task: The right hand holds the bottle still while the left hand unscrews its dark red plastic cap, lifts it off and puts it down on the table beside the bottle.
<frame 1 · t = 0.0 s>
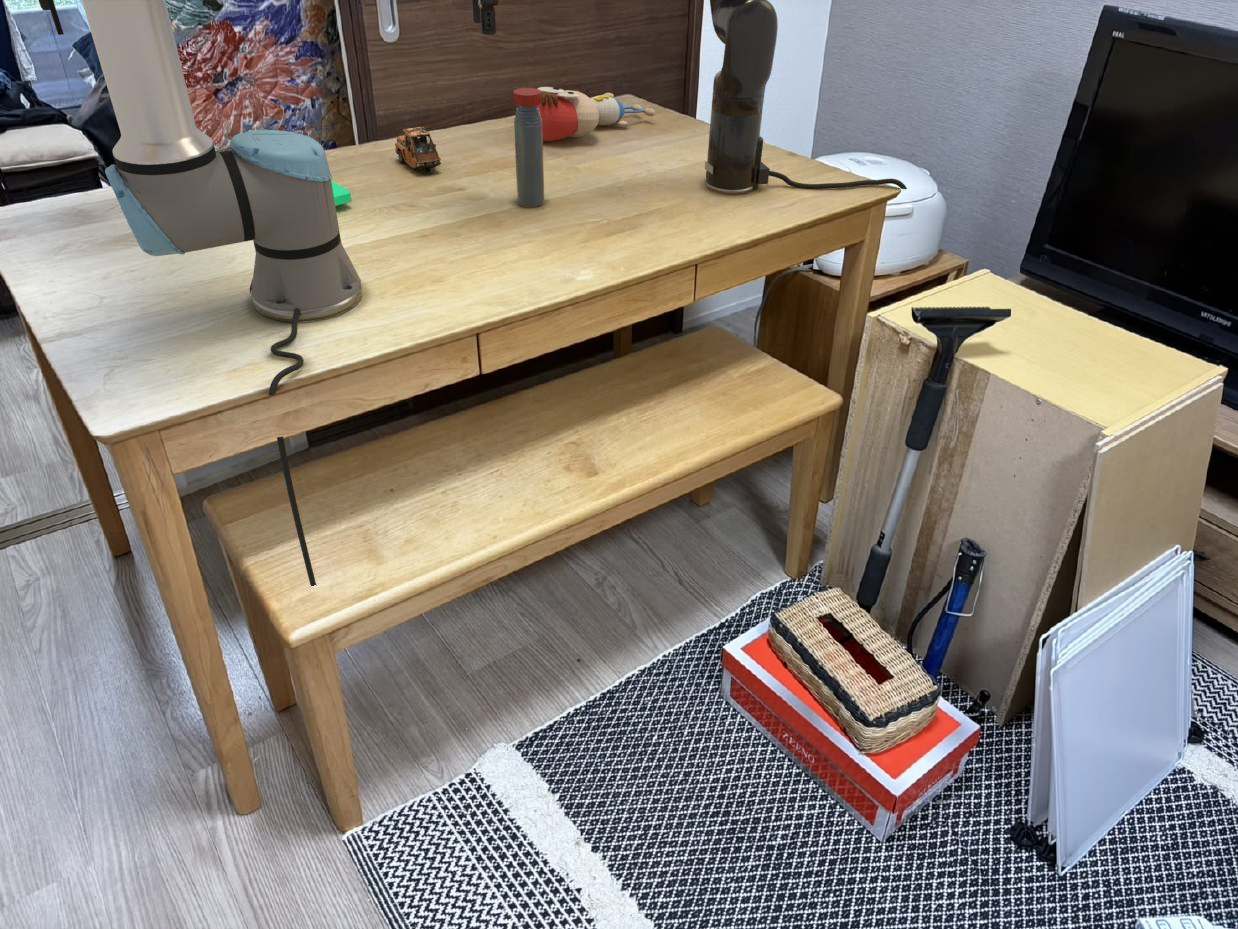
left hand: (108, 29, 146), 28 cm above the table, tool pointing down, fingers open, 13 cm apart
right hand: (484, 28, 148), 29 cm above the table, tool pointing down, fingers open, 8 cm apart
toy: (590, 130, 201), on the table
camera mount: (318, 203, 164), on the table
toy car: (419, 166, 180), on the table
cap: (527, 93, 155), point 19 cm above the table, screwed on, not yet turned
bottle: (530, 202, 167), on the table
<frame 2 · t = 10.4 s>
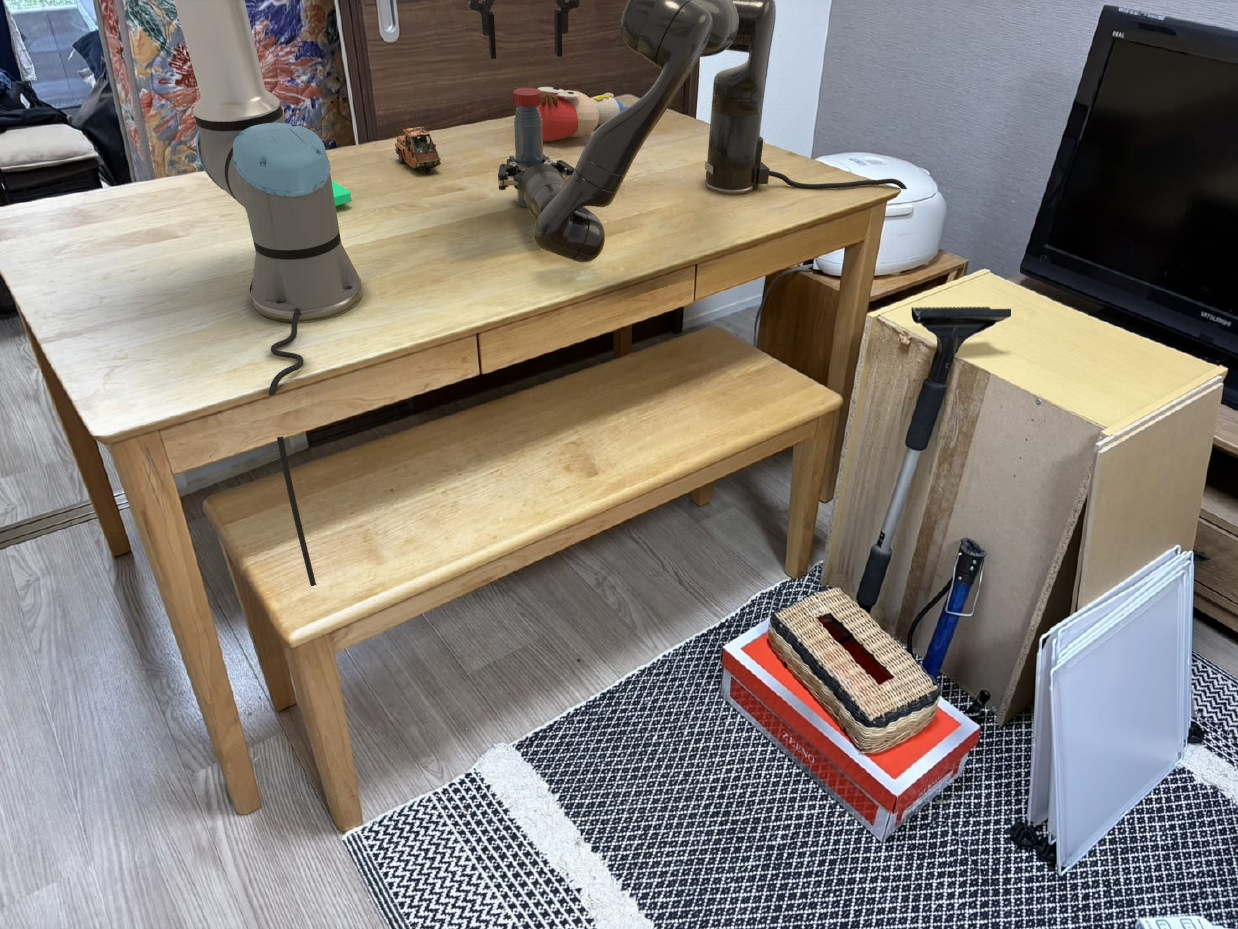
left hand: (525, 55, 152), 25 cm above the table, tool pointing down, fingers open, 10 cm apart
right hand: (526, 160, 165), 7 cm above the table, tool horizontal, fingers closed on bottle, 5 cm apart
bottle: (530, 202, 167), on the table, touching right hand
everything else where it was.
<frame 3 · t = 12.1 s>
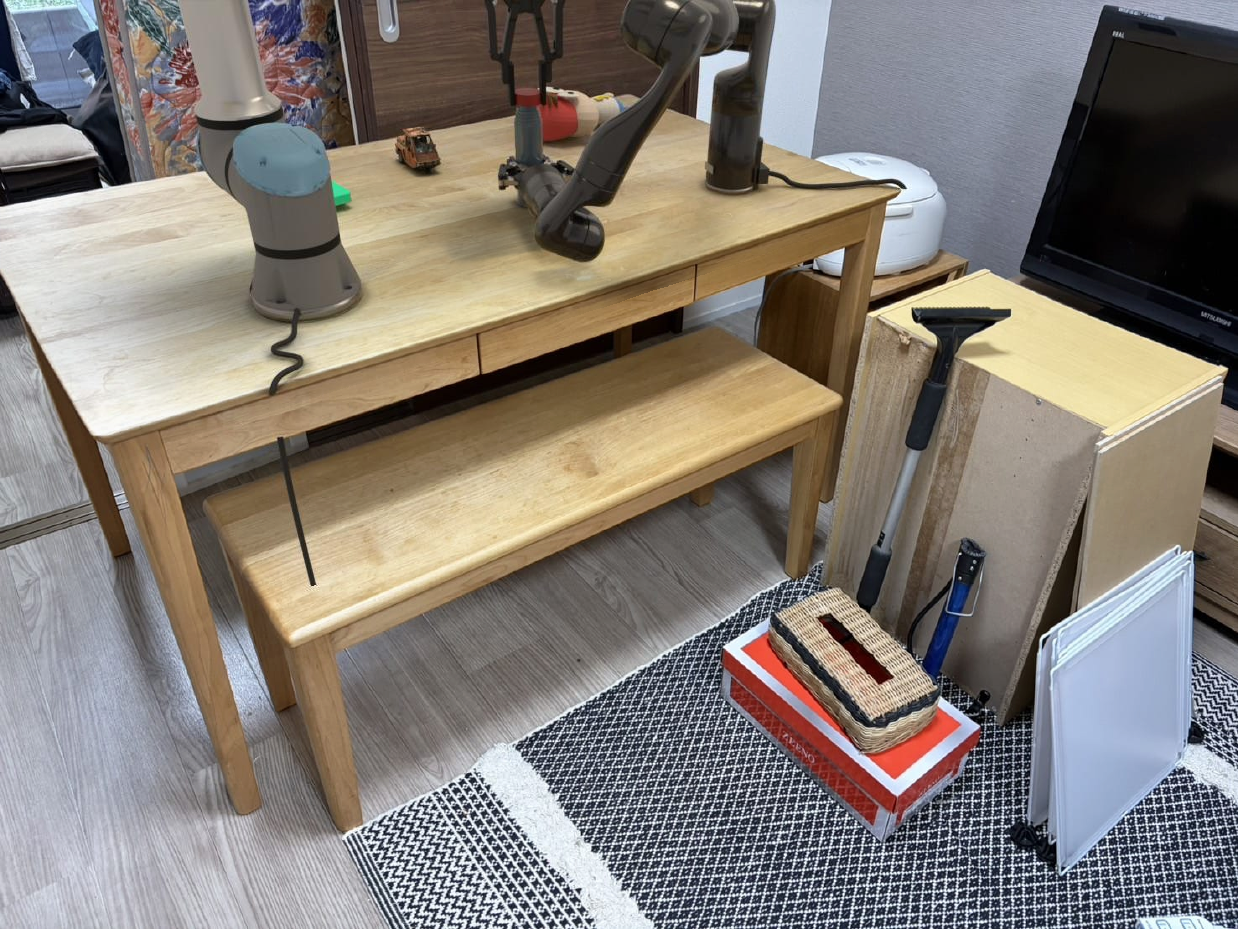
left hand: (527, 102, 156), 17 cm above the table, tool pointing down, fingers closed on cap, 5 cm apart
right hand: (526, 160, 165), 7 cm above the table, tool horizontal, fingers closed on bottle, 5 cm apart
cap: (527, 93, 155), point 19 cm above the table, screwed on, not yet turned, touching left hand
bottle: (530, 202, 167), on the table, touching right hand
everything else where it was.
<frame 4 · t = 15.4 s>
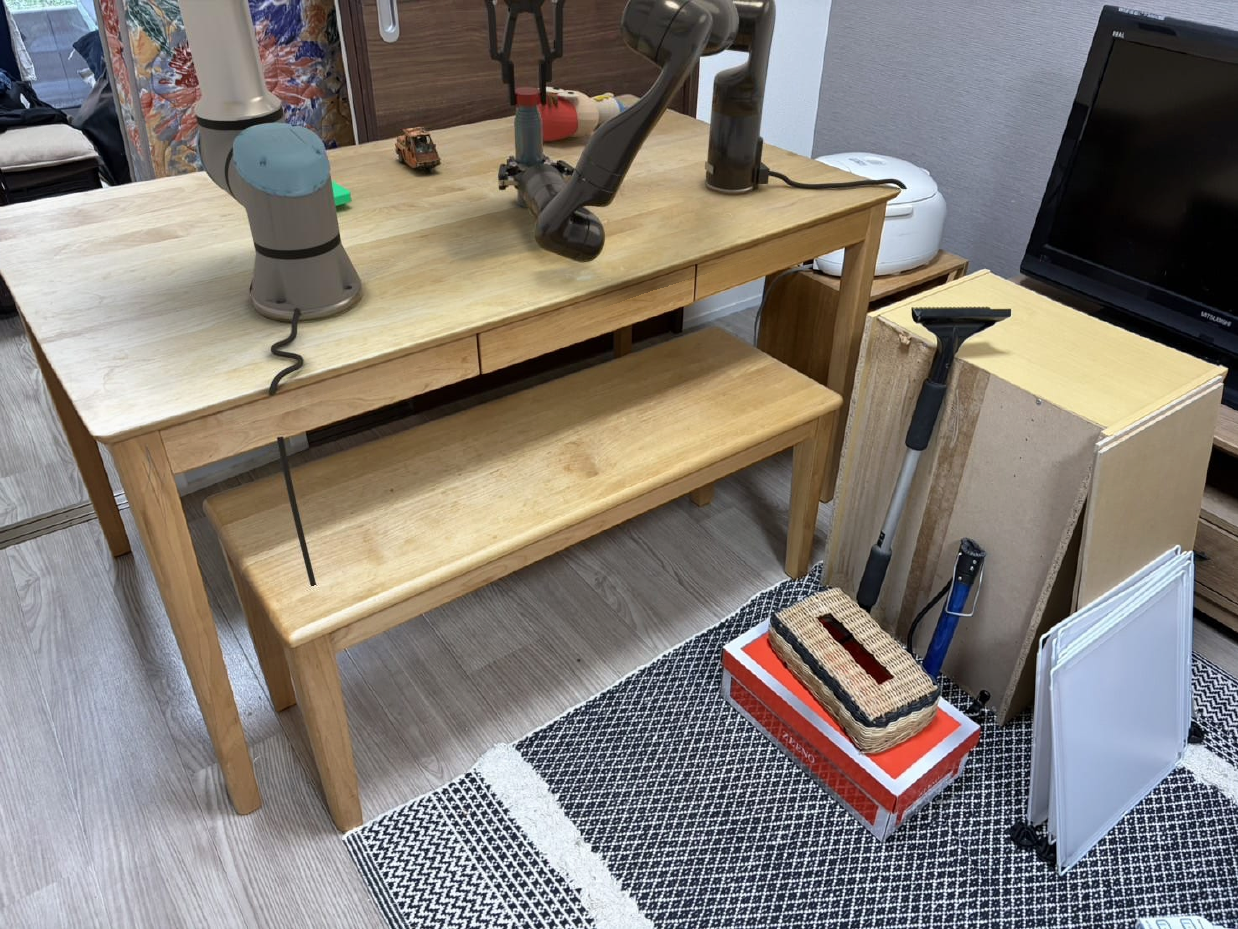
left hand: (527, 102, 156), 17 cm above the table, tool pointing down, fingers closed on cap, 4 cm apart
right hand: (526, 160, 165), 7 cm above the table, tool horizontal, fingers closed on bottle, 5 cm apart
cap: (527, 92, 155), point 19 cm above the table, turned 103° so far, risen 0.1 cm, still on its thread, touching left hand
bottle: (530, 202, 167), on the table, touching right hand
everything else where it was.
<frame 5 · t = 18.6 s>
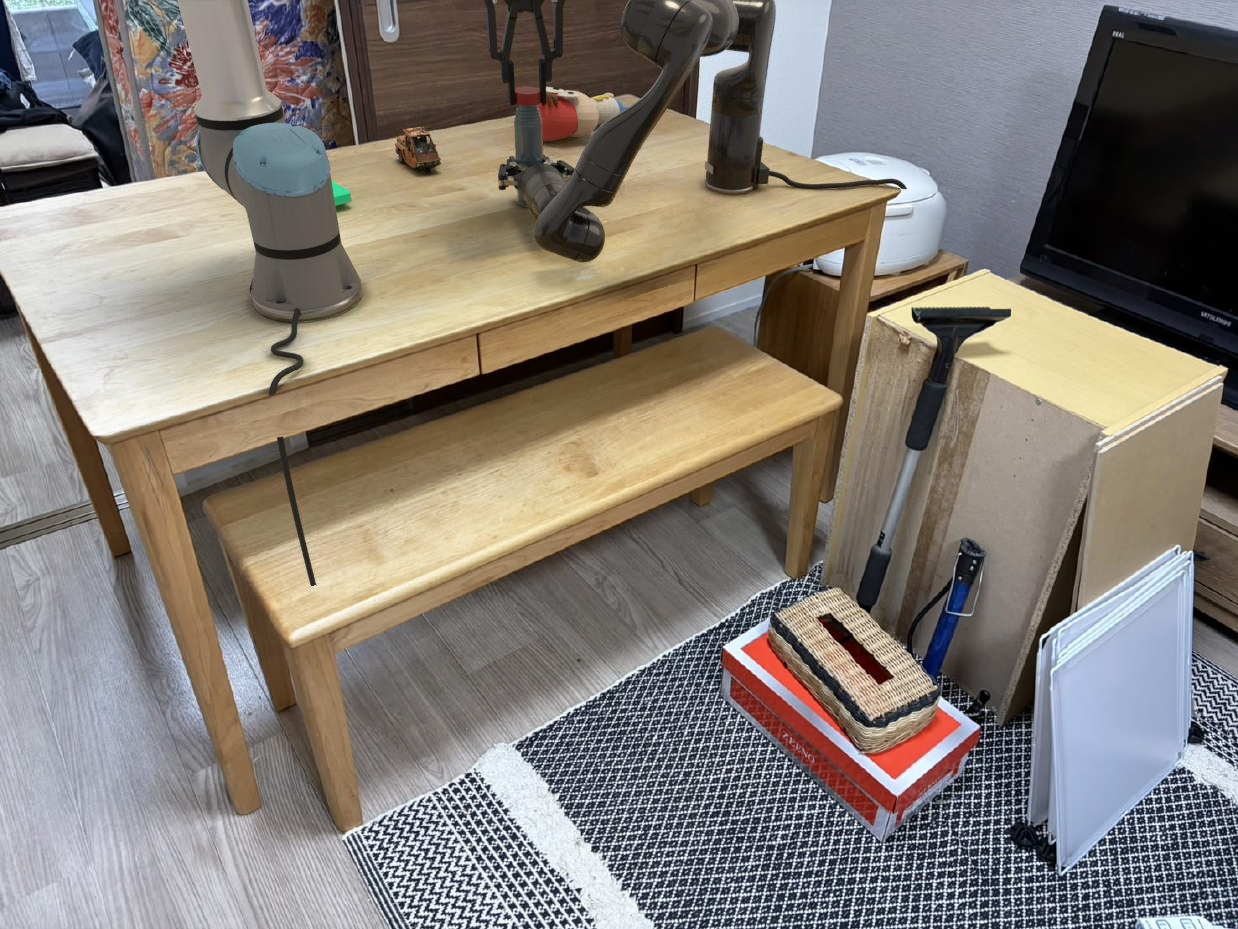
left hand: (527, 101, 156), 18 cm above the table, tool pointing down, fingers closed on cap, 5 cm apart
right hand: (526, 160, 165), 7 cm above the table, tool horizontal, fingers closed on bottle, 5 cm apart
cap: (527, 92, 155), point 19 cm above the table, turned 206° so far, risen 0.2 cm, still on its thread, touching left hand
bottle: (530, 202, 167), on the table, touching right hand
everything else where it was.
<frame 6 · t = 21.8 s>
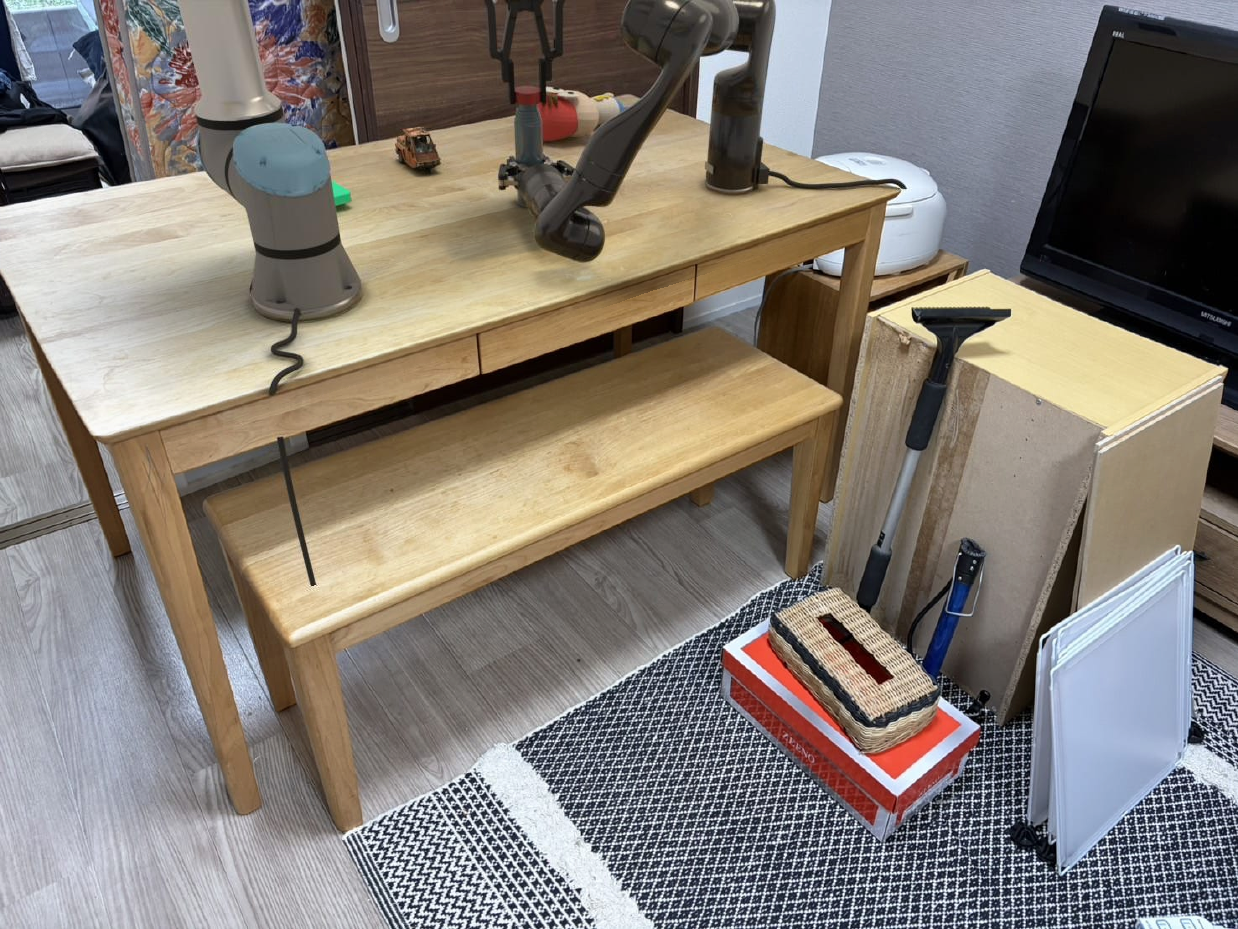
left hand: (527, 101, 156), 18 cm above the table, tool pointing down, fingers closed on cap, 5 cm apart
right hand: (526, 160, 165), 7 cm above the table, tool horizontal, fingers closed on bottle, 5 cm apart
cap: (527, 91, 155), point 19 cm above the table, turned 309° so far, risen 0.3 cm, still on its thread, touching left hand
bottle: (530, 202, 167), on the table, touching right hand
everything else where it was.
when the left hand's fingers open (1 cm above the table, at t = 28.2 s): cap drops 1 cm, point 2 cm above the table.
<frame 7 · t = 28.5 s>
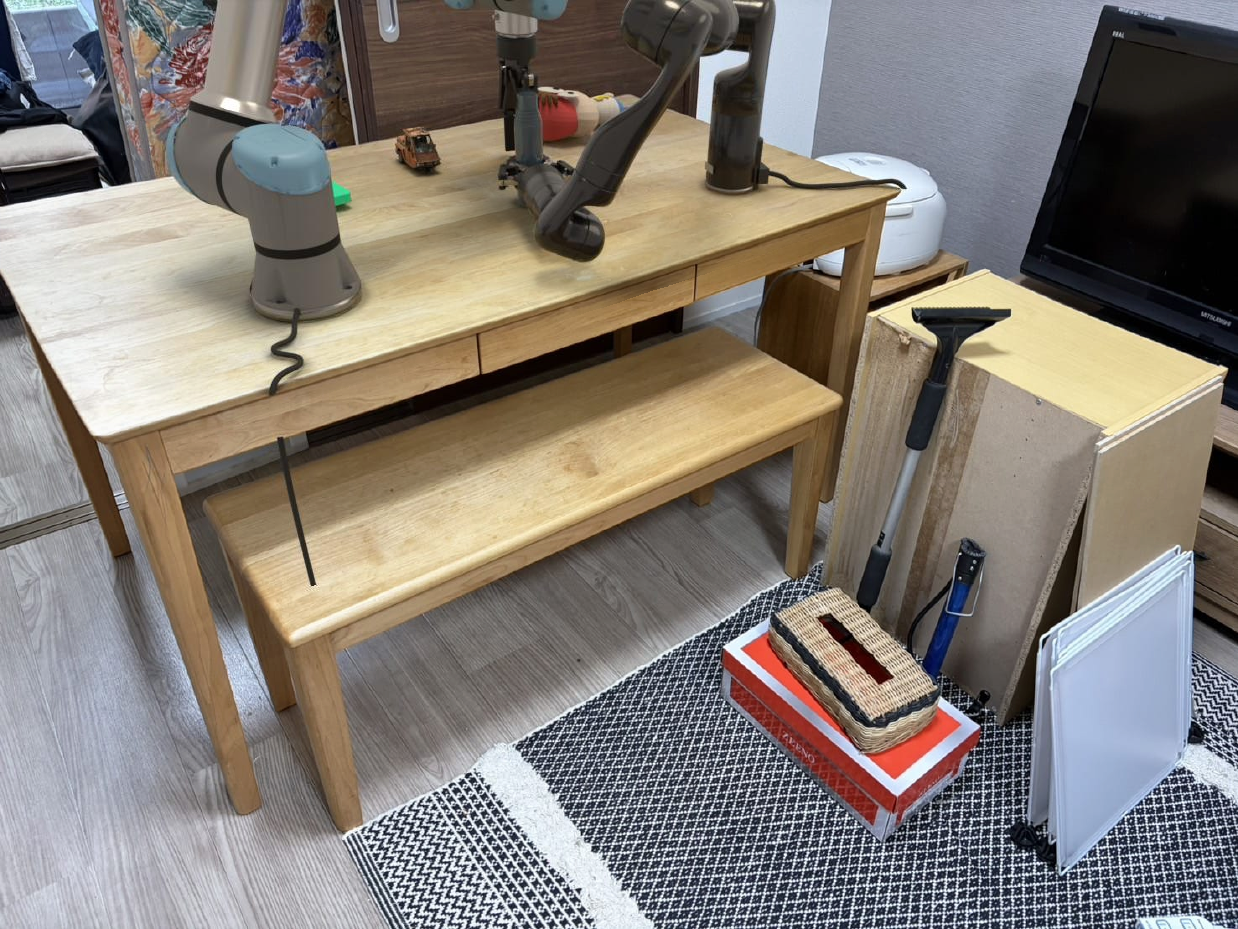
left hand: (521, 157, 180), 2 cm above the table, tool pointing down, fingers open, 9 cm apart
right hand: (526, 160, 165), 7 cm above the table, tool horizontal, fingers closed on bottle, 5 cm apart
cap: (521, 159, 180), point 2 cm above the table, off its thread
bottle: (530, 202, 167), on the table, touching right hand
everything else where it was.
when the right hand's fingers open (7 cm above the table, at t = 29.4 s): bottle stays where it is, on the table.
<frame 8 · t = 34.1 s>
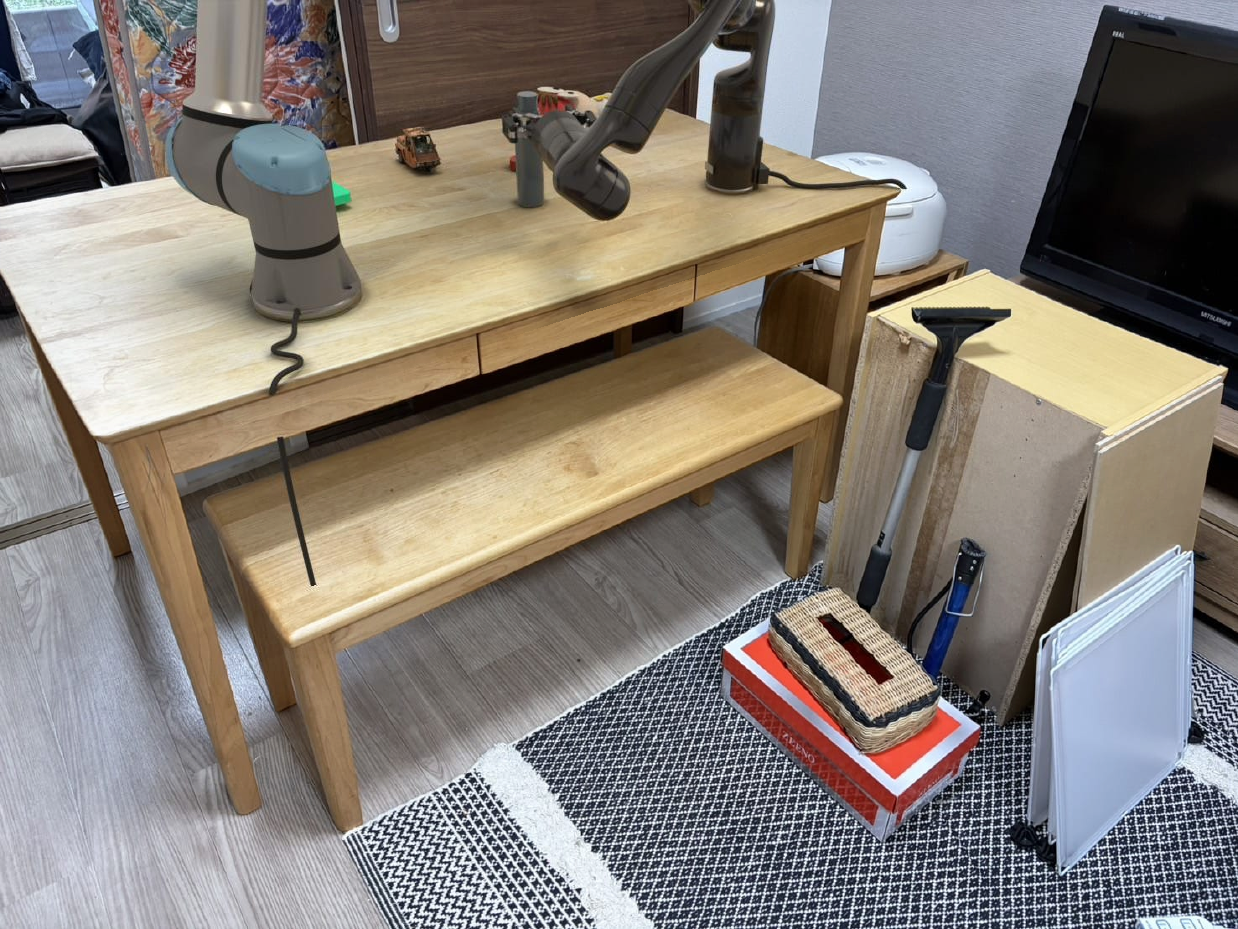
right hand: (540, 112, 147), 19 cm above the table, tool horizontal, fingers open, 8 cm apart
bottle: (530, 202, 167), on the table
everything else where it was.
at the end: cap came off its thread; cap point 1.6 cm above the table; the left hand is holding nothing; the right hand is holding nothing; bottle tilted 0°; bottle moved 0.0 cm from its start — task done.
